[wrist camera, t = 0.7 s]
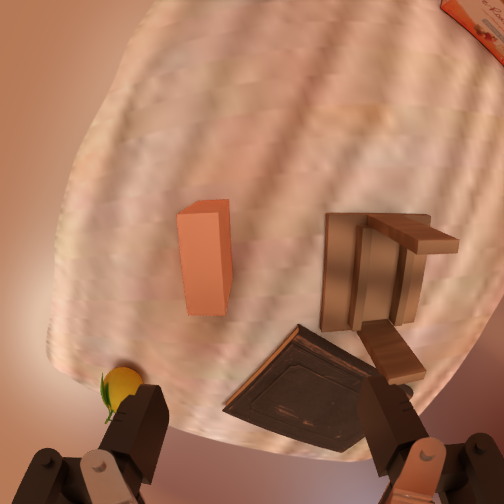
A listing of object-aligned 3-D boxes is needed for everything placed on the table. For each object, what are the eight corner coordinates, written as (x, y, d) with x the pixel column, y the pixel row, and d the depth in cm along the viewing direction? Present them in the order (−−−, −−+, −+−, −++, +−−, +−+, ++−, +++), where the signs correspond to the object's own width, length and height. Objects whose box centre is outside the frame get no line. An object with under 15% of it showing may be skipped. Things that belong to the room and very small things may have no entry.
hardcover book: (339, 443, 39) (341, 453, 37) (223, 399, 36) (222, 411, 33) (409, 384, 35) (415, 394, 33) (297, 320, 32) (300, 331, 29)
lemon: (150, 395, 35) (129, 447, 26) (113, 380, 35) (86, 428, 25) (157, 364, 33) (132, 419, 24) (116, 347, 33) (83, 397, 23)
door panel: (198, 200, 27) (176, 214, 20) (228, 199, 27) (218, 212, 20) (204, 277, 30) (187, 315, 22) (232, 277, 30) (225, 315, 22)
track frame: (326, 212, 27) (367, 241, 17) (426, 214, 27) (491, 239, 17) (320, 327, 31) (343, 394, 21) (410, 318, 31) (454, 370, 20)
